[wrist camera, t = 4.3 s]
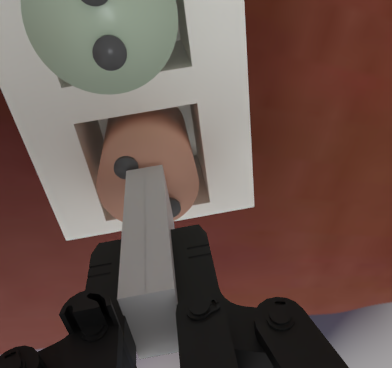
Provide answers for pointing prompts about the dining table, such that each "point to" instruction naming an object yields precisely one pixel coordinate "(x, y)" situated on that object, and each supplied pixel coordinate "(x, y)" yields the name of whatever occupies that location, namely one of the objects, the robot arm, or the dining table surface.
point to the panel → (131, 104)
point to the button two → (102, 40)
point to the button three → (147, 158)
